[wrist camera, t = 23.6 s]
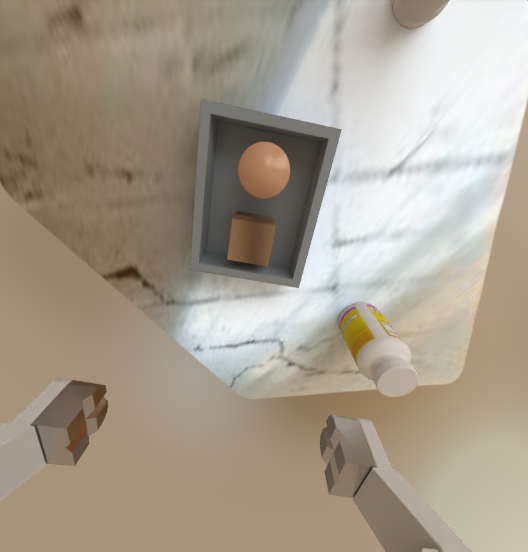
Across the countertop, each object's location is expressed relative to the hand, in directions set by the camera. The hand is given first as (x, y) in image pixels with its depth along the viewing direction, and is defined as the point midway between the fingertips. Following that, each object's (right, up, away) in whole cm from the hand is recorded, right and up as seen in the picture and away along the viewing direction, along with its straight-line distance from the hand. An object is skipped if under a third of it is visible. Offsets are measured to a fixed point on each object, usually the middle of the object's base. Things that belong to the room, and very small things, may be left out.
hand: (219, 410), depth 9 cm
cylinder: (+2, +18, +21) cm, 28 cm away
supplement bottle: (+17, -2, +31) cm, 35 cm away
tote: (+1, +15, +23) cm, 27 cm away
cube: (0, +11, +24) cm, 27 cm away
